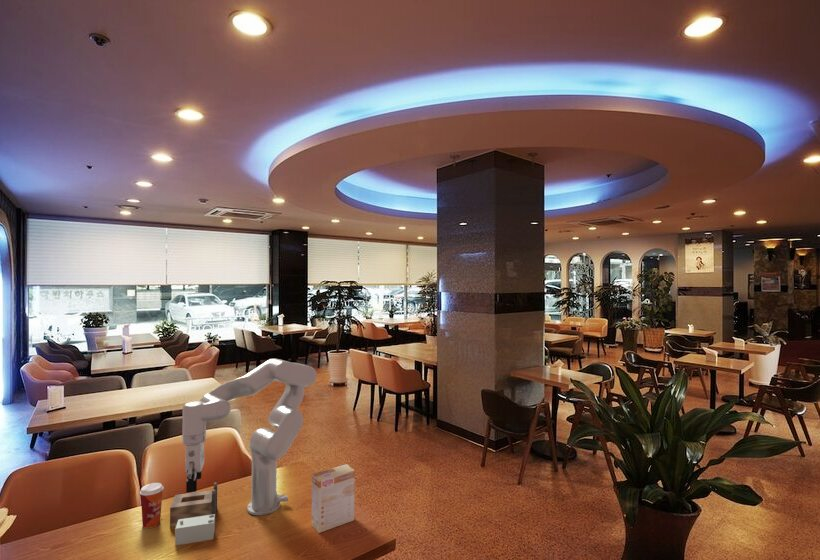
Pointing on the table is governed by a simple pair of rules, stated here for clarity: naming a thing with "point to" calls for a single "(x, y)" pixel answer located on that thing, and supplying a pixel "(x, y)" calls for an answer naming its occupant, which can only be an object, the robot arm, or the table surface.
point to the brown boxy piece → (193, 505)
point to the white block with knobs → (194, 529)
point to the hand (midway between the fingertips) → (194, 485)
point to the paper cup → (151, 504)
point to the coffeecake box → (333, 497)
